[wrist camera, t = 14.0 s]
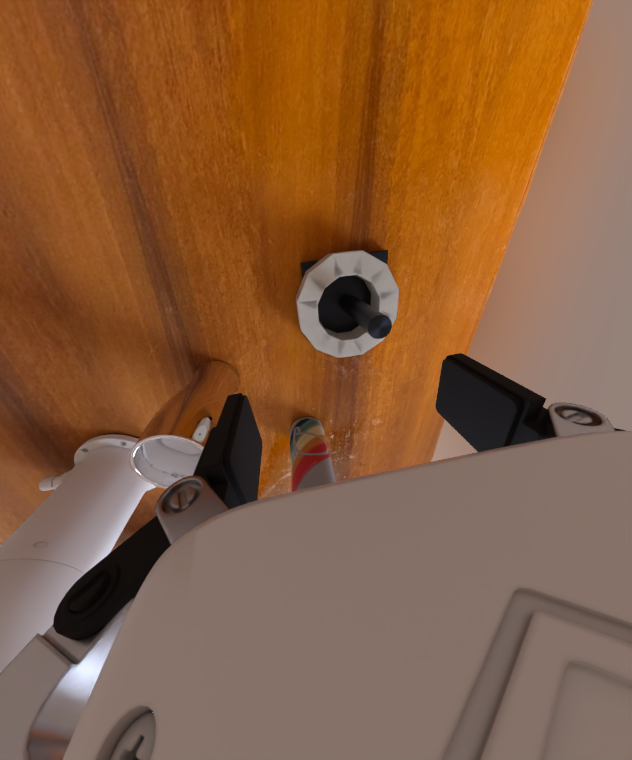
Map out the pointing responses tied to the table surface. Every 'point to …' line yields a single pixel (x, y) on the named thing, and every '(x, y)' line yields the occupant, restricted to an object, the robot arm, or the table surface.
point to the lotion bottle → (309, 455)
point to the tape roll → (324, 275)
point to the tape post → (351, 304)
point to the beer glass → (183, 426)
